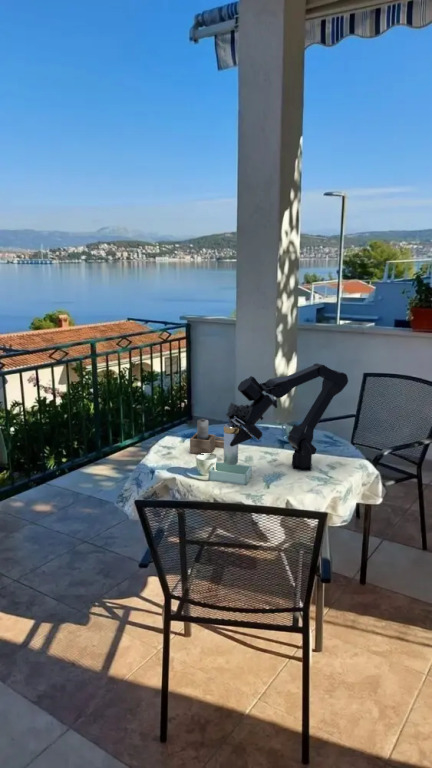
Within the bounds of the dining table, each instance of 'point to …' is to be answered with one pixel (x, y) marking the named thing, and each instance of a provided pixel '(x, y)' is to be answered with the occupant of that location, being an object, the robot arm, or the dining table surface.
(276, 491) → the dining table surface
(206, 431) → the bin
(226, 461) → the cell
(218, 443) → the wooden switch box
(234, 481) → the trough
